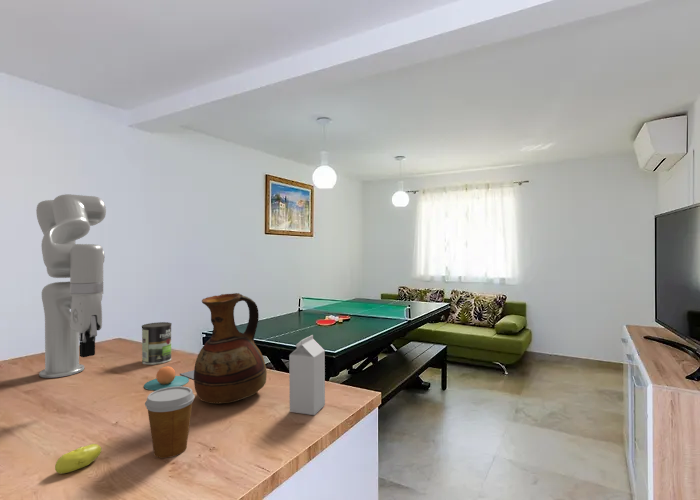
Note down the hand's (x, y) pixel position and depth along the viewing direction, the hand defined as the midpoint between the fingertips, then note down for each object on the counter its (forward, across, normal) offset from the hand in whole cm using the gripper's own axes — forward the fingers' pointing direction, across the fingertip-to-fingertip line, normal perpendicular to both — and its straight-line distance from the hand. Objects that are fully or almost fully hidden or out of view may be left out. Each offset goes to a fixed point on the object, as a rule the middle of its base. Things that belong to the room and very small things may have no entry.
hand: (87, 355), depth 106 cm
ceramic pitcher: (+14, +26, +28) cm, 41 cm away
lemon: (+14, +34, -12) cm, 39 cm away
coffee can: (+14, -28, +32) cm, 45 cm away
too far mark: (+13, 0, +34) cm, 37 cm away
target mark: (+13, 0, +22) cm, 26 cm away
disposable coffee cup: (+14, +42, +2) cm, 44 cm away
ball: (+11, +1, +21) cm, 24 cm away
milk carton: (+14, +50, +35) cm, 63 cm away
